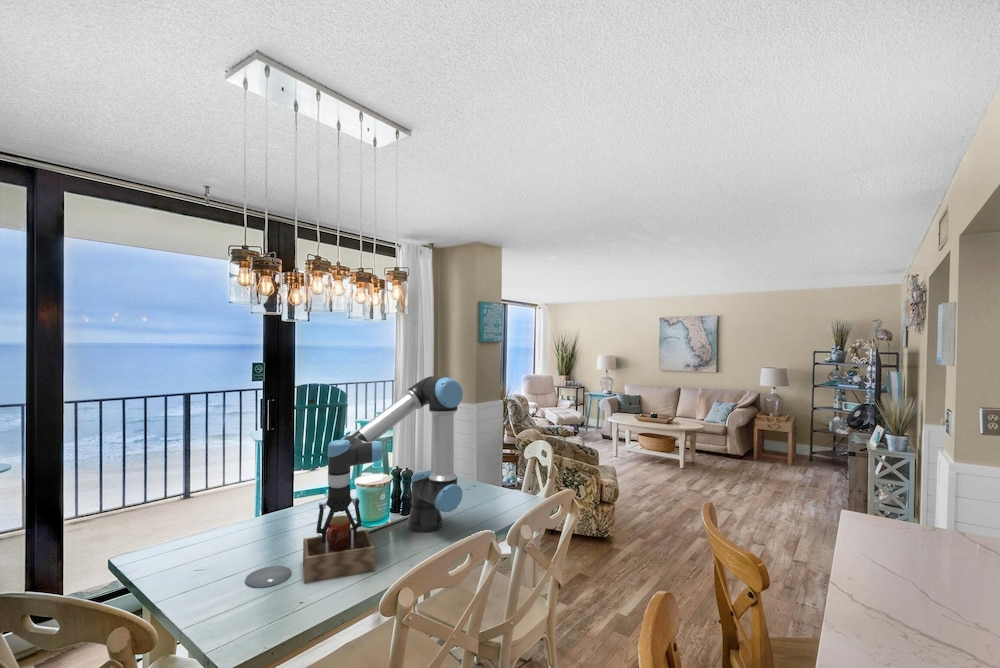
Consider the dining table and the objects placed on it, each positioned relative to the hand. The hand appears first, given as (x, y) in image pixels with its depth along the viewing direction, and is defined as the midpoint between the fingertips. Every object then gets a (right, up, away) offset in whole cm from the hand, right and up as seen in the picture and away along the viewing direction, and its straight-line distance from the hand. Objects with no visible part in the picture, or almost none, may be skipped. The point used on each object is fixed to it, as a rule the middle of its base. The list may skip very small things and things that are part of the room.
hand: (339, 549), depth 170 cm
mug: (-1, 0, 0) cm, 1 cm away
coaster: (-21, -5, -9) cm, 23 cm away
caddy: (0, -6, 0) cm, 6 cm away
